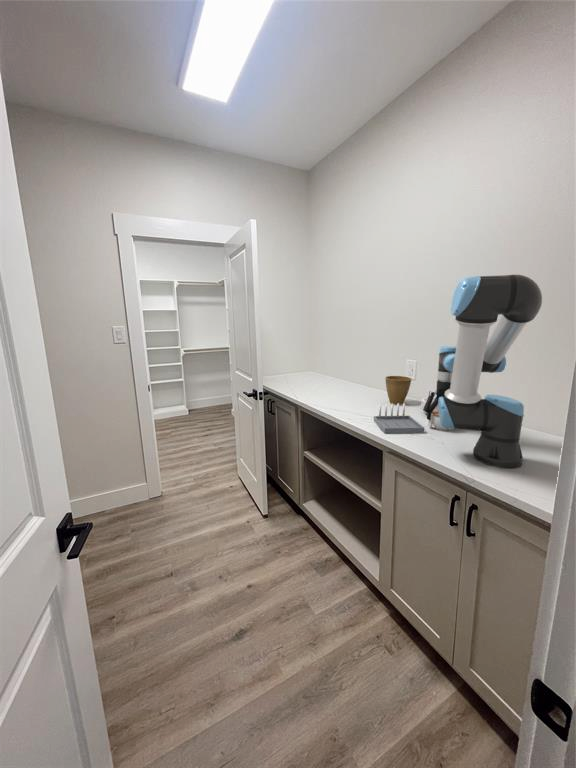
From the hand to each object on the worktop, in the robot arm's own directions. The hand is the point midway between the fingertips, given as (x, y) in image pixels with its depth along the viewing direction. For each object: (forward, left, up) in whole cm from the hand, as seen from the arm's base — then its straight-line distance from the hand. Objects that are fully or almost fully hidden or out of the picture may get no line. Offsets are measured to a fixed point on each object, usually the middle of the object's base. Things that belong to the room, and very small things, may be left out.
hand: (441, 426), depth 146 cm
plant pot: (+44, +6, -1) cm, 44 cm away
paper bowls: (+21, -7, -1) cm, 22 cm away
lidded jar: (0, 0, -1) cm, 1 cm away
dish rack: (+3, +20, -1) cm, 20 cm away
